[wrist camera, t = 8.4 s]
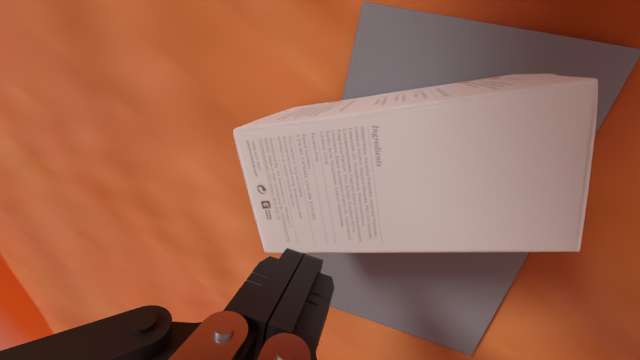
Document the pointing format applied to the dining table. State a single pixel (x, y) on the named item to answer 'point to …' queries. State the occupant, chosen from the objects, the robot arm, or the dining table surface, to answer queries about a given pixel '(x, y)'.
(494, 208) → the small box
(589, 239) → the dining table surface
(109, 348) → the robot arm
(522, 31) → the slate mat
